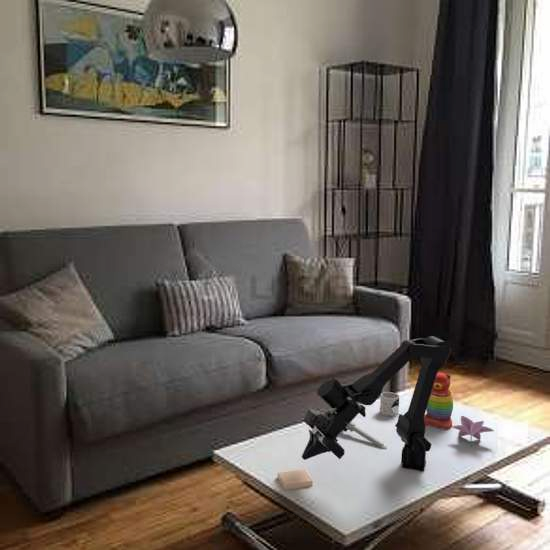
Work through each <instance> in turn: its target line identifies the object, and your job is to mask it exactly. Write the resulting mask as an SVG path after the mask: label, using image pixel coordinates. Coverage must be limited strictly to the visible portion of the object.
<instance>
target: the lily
mask: <svg viewBox="0 0 550 550" xmlns="http://www.w3.org/2000/svg"><path fill="white" fill-rule="evenodd" d="M460 424H461V425H459V424H458V425H452V426H451V428H453V429H455V430H458V433H457V435H458V436H457V437H459V438H460V437H464V436H470V449H473V444H472V440H473V439H472V438H475V439H477V440H479V441H481V433H487V432H489V433H490V432H494V429H493V428H491V427H487V426H484V424H485V421H483V420H481V421H476V422H474V421H473V420H471V419H470V418H469V417H466V416H464V415H460Z"/></svg>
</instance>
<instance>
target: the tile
mask: <svg viewBox="0 0 550 550" xmlns="http://www.w3.org/2000/svg"><path fill="white" fill-rule="evenodd" d="M277 479H278V481H279V483H280V484H281V485H282V487H283V489H284V490H293V489H299V488H305V487H307V488H308V487H312V486H313V479H312V477H310V475H309V474H308V473H307V471H306V470H305V469H302V468H301V469H296V470H287V471H281V472H280V471H279V472H277Z"/></svg>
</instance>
